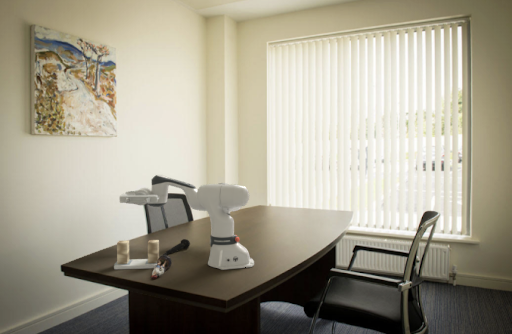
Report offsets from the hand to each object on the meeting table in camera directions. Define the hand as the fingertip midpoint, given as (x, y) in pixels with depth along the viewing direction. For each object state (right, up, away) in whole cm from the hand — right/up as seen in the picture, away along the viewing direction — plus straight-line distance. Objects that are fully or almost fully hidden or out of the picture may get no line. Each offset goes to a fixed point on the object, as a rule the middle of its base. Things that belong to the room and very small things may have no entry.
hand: (136, 200), depth 198 cm
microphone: (+19, -28, +5) cm, 35 cm away
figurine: (+20, -30, -30) cm, 47 cm away
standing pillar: (+14, -28, -19) cm, 36 cm away
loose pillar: (0, -28, -21) cm, 34 cm away
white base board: (+7, -29, -20) cm, 36 cm away
